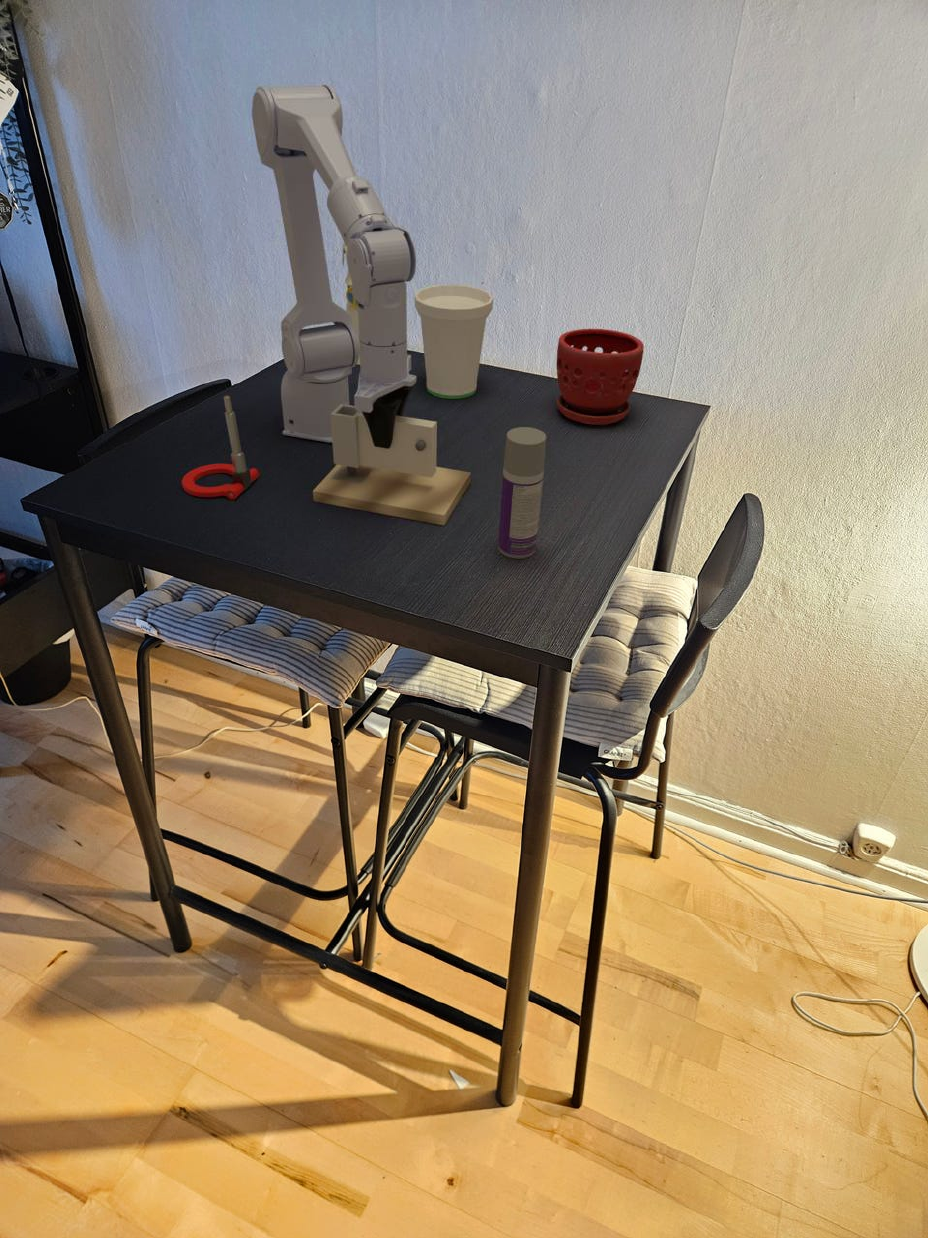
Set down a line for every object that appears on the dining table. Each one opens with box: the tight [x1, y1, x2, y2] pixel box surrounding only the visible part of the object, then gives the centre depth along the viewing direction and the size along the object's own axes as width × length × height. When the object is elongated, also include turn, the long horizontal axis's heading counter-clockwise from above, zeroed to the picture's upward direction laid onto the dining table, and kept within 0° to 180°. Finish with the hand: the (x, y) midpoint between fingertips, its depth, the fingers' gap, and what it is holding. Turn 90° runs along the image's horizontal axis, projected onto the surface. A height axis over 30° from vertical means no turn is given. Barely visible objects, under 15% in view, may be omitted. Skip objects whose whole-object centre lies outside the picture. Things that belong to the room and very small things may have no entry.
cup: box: [413, 284, 494, 400], centre depth 136 cm, size 12×12×15 cm
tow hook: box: [181, 395, 260, 501], centre depth 109 cm, size 8×13×9 cm
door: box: [330, 404, 438, 478], centre depth 108 cm, size 13×3×7 cm, turn 74°
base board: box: [312, 464, 472, 526], centre depth 111 cm, size 18×12×5 cm, turn 74°
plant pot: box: [556, 328, 645, 426], centre depth 131 cm, size 13×13×12 cm
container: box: [497, 426, 547, 560], centre depth 98 cm, size 5×5×15 cm
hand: (385, 442), depth 108 cm, fingers closed on door, 2 cm apart
